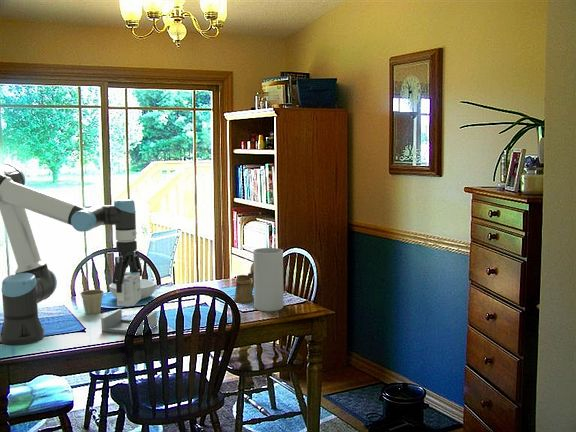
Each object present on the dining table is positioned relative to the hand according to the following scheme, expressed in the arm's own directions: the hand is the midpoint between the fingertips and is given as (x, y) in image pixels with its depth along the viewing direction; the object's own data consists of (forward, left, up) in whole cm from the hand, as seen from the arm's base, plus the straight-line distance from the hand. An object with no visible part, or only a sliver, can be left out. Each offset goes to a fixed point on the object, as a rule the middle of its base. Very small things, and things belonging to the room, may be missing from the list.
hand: (128, 296), depth 254 cm
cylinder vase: (+42, -43, -13) cm, 61 cm away
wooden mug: (+53, -30, -13) cm, 62 cm away
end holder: (0, 0, -13) cm, 13 cm away
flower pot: (+18, +27, -13) cm, 35 cm away
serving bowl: (+43, +22, -13) cm, 50 cm away
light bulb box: (0, 0, -2) cm, 2 cm away
